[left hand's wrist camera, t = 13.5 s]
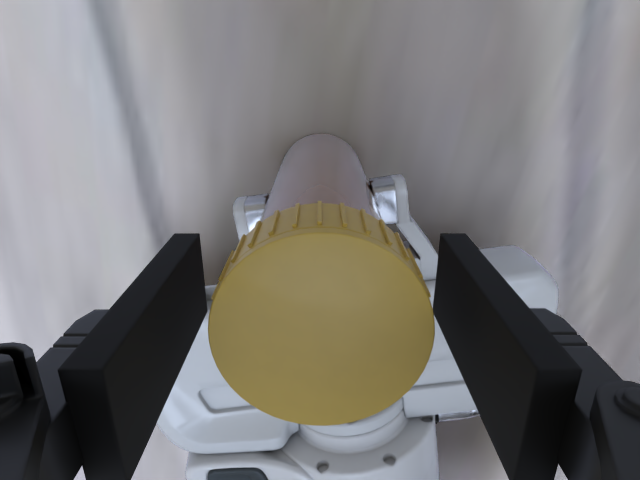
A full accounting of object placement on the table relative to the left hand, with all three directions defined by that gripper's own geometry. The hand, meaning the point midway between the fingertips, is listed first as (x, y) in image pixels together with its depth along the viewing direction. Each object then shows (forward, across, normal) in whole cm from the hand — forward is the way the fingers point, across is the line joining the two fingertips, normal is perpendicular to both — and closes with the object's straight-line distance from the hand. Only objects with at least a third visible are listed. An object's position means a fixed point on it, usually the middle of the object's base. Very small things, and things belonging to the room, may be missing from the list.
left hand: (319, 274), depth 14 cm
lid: (-3, 0, 0) cm, 3 cm away
